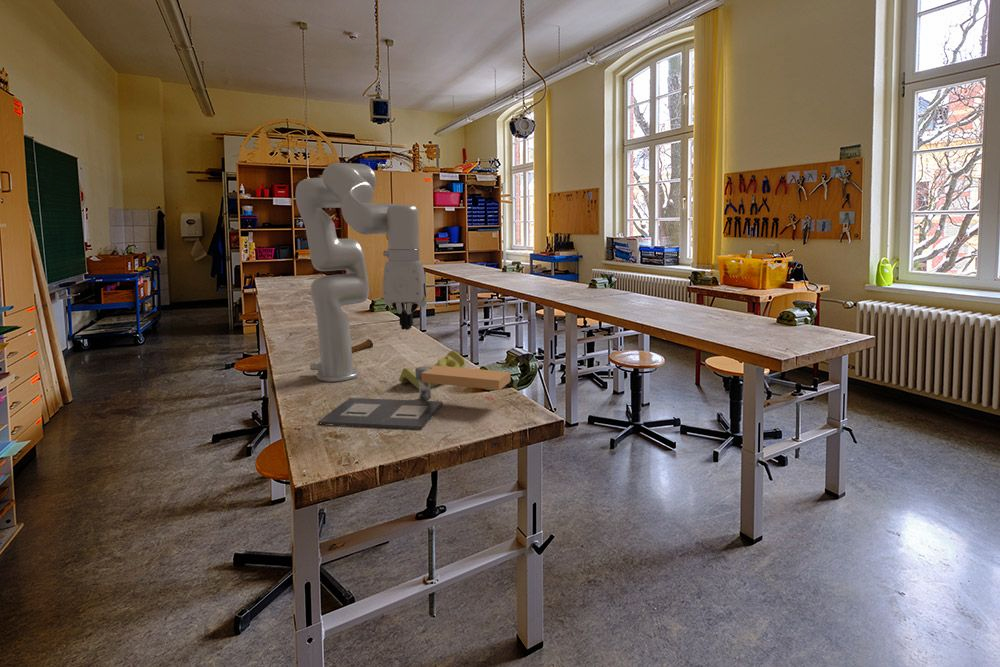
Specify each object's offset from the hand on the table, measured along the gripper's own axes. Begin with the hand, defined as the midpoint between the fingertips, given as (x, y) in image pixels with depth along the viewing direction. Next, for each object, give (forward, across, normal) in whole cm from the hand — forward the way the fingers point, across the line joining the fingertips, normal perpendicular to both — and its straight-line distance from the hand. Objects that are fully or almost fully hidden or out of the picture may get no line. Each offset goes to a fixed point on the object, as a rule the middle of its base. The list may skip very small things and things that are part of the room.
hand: (406, 328), depth 145 cm
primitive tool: (+24, -42, +54) cm, 73 cm away
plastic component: (+22, 0, +23) cm, 32 cm away
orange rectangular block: (+15, +12, +5) cm, 20 cm away
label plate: (+21, -5, -4) cm, 22 cm away
